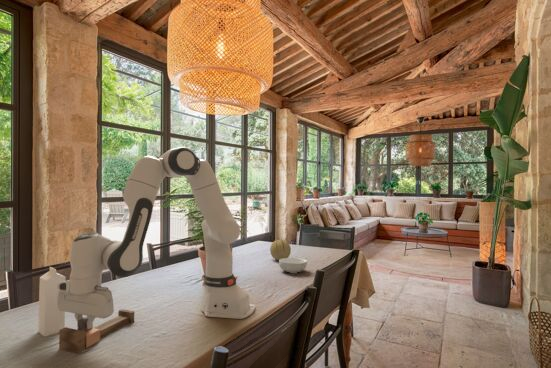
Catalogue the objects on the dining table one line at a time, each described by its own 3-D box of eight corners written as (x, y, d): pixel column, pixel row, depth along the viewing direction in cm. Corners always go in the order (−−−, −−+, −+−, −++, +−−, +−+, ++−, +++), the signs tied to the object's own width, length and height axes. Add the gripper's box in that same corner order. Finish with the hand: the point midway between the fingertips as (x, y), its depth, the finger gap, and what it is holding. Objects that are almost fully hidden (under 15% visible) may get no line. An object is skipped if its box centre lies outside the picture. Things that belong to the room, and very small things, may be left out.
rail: (136, 322, 119) (136, 306, 119) (78, 354, 96) (79, 334, 96) (119, 319, 122) (119, 303, 122) (59, 349, 99) (59, 329, 99)
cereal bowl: (311, 271, 197) (311, 259, 197) (298, 277, 183) (298, 264, 183) (287, 266, 206) (287, 255, 206) (273, 272, 192) (273, 260, 192)
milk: (57, 326, 115) (59, 264, 115) (64, 330, 111) (66, 267, 112) (37, 332, 110) (39, 268, 110) (44, 337, 106) (46, 271, 107)
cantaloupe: (283, 263, 214) (284, 241, 214) (265, 260, 222) (266, 239, 222) (294, 259, 226) (295, 238, 226) (277, 256, 234) (277, 236, 234)
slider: (99, 340, 104) (100, 317, 104) (86, 347, 99) (87, 323, 99) (83, 337, 106) (83, 313, 106) (69, 344, 102) (69, 319, 102)
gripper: (119, 285, 103) (118, 328, 103) (71, 278, 109) (70, 318, 109) (102, 291, 97) (101, 336, 97) (53, 283, 103) (52, 326, 103)
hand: (84, 327), depth 103 cm, fingers closed on slider, 2 cm apart
